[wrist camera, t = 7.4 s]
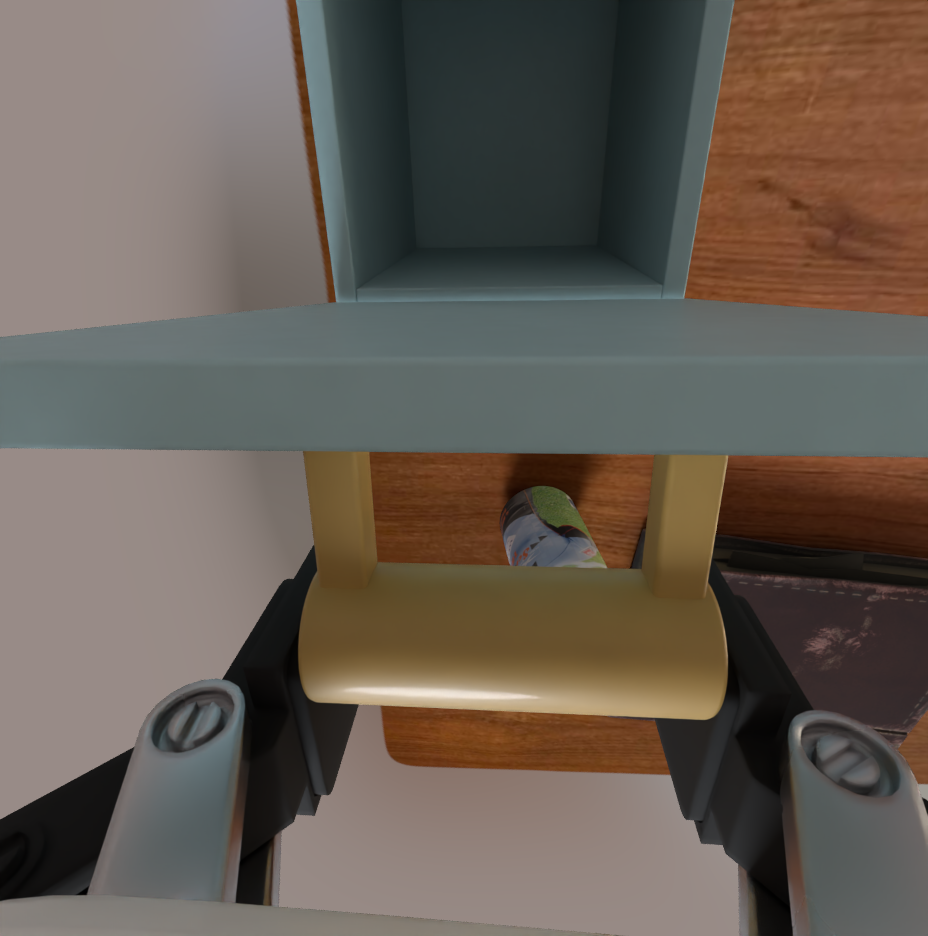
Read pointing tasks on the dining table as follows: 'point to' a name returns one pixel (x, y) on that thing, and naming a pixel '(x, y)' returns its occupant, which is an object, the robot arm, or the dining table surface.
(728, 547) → the diary
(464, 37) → the chest
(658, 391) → the lid
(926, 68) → the dining table surface
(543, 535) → the beverage can
